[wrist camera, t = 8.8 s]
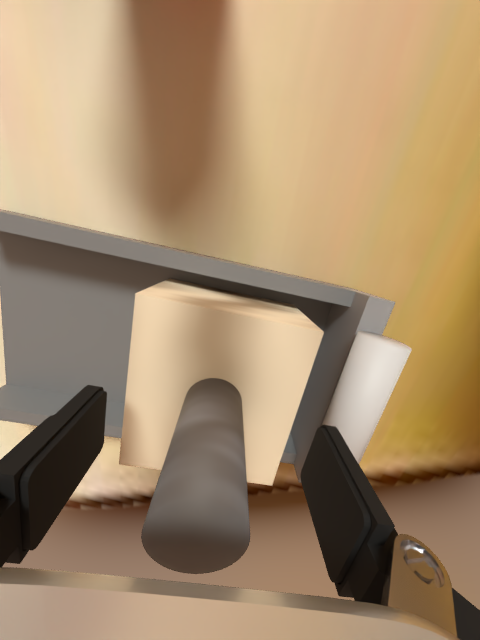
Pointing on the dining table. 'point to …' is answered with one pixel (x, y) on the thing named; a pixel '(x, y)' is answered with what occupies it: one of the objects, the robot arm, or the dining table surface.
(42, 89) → the dining table surface
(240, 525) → the beige block with peg
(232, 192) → the dining table surface
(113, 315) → the bay
